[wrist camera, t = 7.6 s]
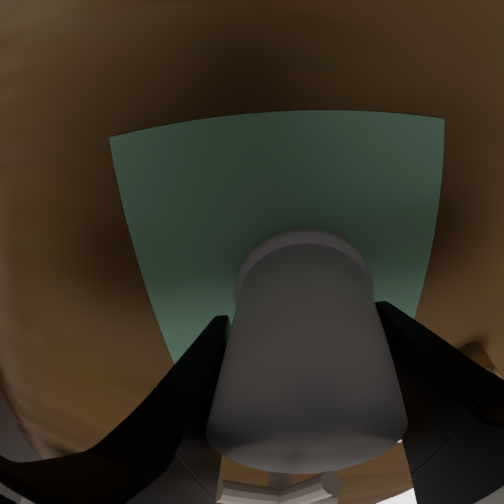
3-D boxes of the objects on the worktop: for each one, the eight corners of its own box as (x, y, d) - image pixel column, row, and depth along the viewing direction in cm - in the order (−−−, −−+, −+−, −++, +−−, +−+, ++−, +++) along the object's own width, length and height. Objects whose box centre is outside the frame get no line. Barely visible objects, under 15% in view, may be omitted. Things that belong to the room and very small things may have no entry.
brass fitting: (489, 336, 14) (516, 377, 11) (469, 373, 16) (489, 412, 13) (448, 349, 14) (474, 396, 11) (429, 386, 16) (447, 430, 13)
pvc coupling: (377, 227, 9) (452, 373, 4) (358, 334, 11) (380, 469, 6) (232, 226, 10) (170, 376, 4) (243, 334, 12) (215, 469, 7)
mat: (438, 118, 8) (444, 119, 8) (398, 351, 14) (401, 356, 14) (113, 136, 9) (109, 137, 9) (180, 370, 15) (179, 376, 14)
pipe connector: (192, 446, 20) (180, 552, 11) (262, 399, 16) (263, 558, 7) (287, 468, 22) (292, 556, 14) (367, 427, 18) (390, 538, 10)
